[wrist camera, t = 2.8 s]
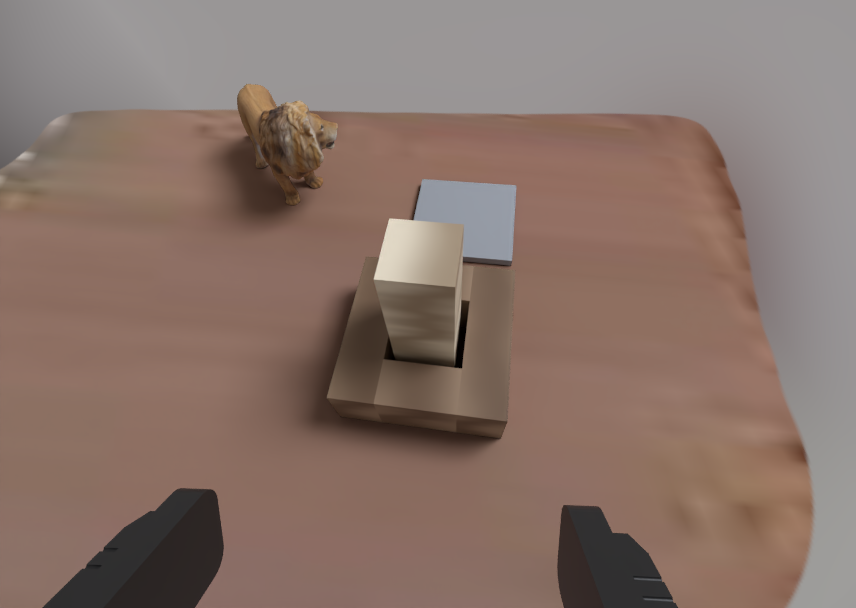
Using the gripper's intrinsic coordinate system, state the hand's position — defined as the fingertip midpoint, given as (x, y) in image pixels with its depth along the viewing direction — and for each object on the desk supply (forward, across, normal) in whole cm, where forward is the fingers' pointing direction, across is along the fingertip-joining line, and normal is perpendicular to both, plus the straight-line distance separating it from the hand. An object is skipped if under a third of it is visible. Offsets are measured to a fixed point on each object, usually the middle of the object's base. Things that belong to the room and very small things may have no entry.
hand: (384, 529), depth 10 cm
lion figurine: (+32, +13, -10) cm, 36 cm away
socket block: (+19, 0, +3) cm, 19 cm away
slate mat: (+27, -2, -6) cm, 28 cm away
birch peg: (+19, 0, +3) cm, 19 cm away
